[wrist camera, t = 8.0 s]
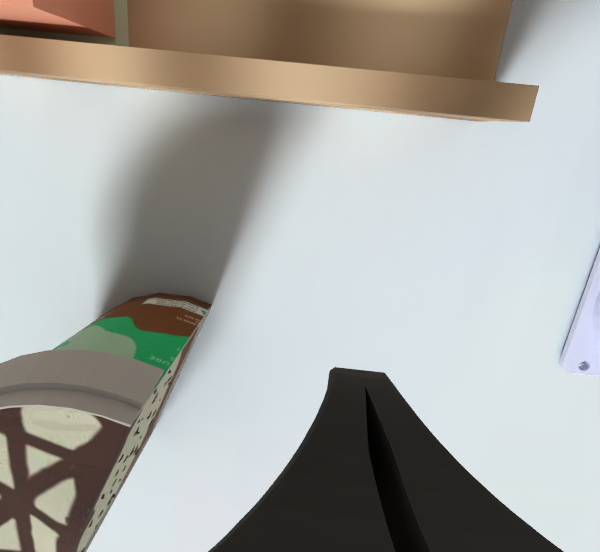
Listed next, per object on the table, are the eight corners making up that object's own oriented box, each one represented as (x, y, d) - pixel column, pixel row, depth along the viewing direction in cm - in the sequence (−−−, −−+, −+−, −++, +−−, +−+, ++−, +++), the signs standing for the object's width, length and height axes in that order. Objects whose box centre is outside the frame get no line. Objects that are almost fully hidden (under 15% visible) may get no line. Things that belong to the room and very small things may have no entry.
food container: (106, 223, 20) (-86, 313, 11) (223, 280, 21) (137, 411, 12) (43, 409, 24) (-135, 590, 15) (142, 452, 25) (31, 651, 16)
